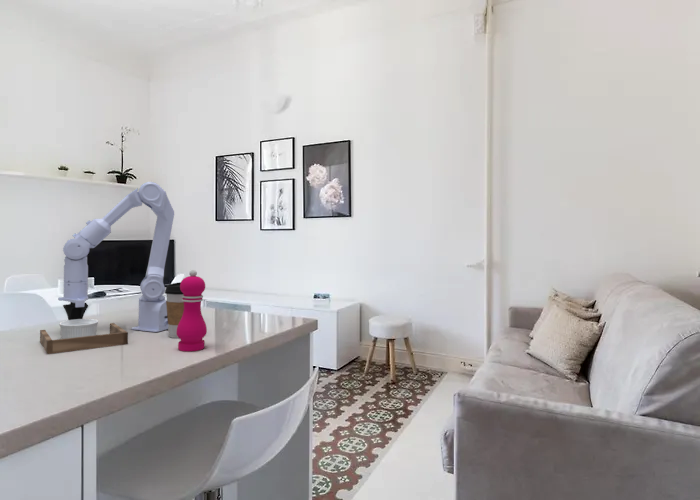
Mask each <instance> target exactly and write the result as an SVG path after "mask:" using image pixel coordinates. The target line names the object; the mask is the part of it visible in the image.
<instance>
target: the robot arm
mask: <svg viewBox="0 0 700 500" xmlns="http://www.w3.org/2000/svg"><path fill="white" fill-rule="evenodd" d="M143 204H144V205H145V206H146V207H148V208H150V210H151V211H152V212H153V213H154V214H155V215H156V222H155V227H154V233H153V237H152V243H151V248H150V253H149V258H148V264H147V268H146V271H145V272H146V273H145V277H143V279H142V280H141V282H140V286H139V288H140V292H141V294H142V295H141V296H140V297H138V323H137V324H138V325H137V326H133V327H131V330H134V331H142V332H143V331H144V332H151V333H158V332H162V331H165V330H168V318H167V306H166V301H167V299H166V297H165V296H164V294H165V290H166V287H165V284H164V278H165V268H166V267H165V266H166V261H167V257H168V252H169V251H168V250H169V246H170V240H171V233H172V228H173V223H174V219H175V210H174V208H173V206H172V204H171V201H170V200H169V197H168V195H167V192H166V191H165V190H164V188H163V187H161V186H160V184H158V183H156V182H154V181H146V182H144V183H143V184H141V185H140V187H139V188H138V187H137V188H136V189H134V190H132V191H131V192H129V193H128V194H127V195H125V196H124V197H123V198H122V199H121V200H120V201H119V202H118V203H117V204H116V205H115V206H114V207H113V208H112V209H110V210H109V211H108V212H107V213H106V214H105V215H104V216H103V217H102V218H93V219H92V220H87V221H86V222H85V224H86V225H85V226H84V227H83V228H82V229H81V230H80V231H79V232H77V233H73V235H72V237H74V238H70V239H68V240H67V241H66V242H65V244H64V245H63V248H62V249H63V250H62V251H63V255H65V257H64V259H63V260H64V261H63V262H64V265H63V297H62V296H60V297H58V298H57V300H58V301H63V302H67V303H68V302H70V303H69V304H62V307H63V309H64V311H65V313H66V315H67V320H74V319H84V315H85V313H86V311H87V309H88V307H89V305H88V303H87V302H86V301H88V300H89V294H88V293H89V292H88V291H89V287H88V286H89V285H88V284H89V265H88V256H89V255H88V254H89V253H90V249H94V248H96V247H97V246H98V245H100V243H101V242H103V241H104V239H106V238H107V237H108V236H109V235H110V234H112V226H113V225H114V224H115V223H116V222H117V221H119V220H120V219H121V218H122V217H123V216H125V215H126V214H127V213H128V212H129V211H131V210H132V209H135V208H139V207H142V206H143Z"/></svg>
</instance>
